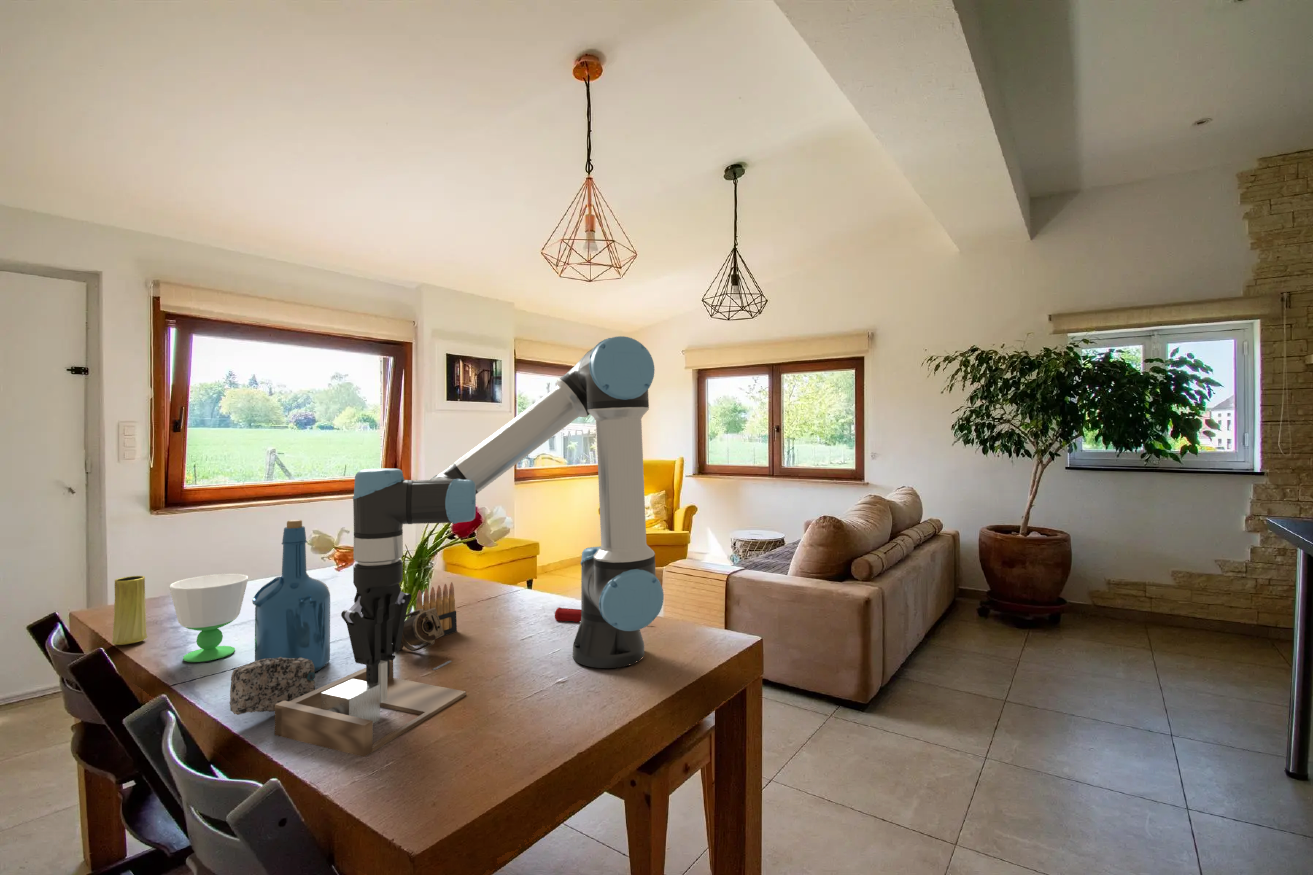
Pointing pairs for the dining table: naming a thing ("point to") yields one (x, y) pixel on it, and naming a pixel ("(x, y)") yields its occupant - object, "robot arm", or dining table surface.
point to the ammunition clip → (440, 606)
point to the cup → (208, 610)
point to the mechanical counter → (421, 629)
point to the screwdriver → (568, 614)
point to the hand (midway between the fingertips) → (378, 699)
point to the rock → (270, 683)
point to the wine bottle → (293, 608)
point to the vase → (129, 610)
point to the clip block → (354, 699)
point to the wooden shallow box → (354, 733)
